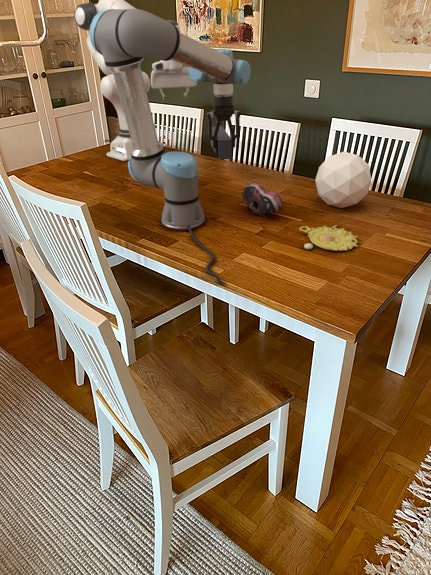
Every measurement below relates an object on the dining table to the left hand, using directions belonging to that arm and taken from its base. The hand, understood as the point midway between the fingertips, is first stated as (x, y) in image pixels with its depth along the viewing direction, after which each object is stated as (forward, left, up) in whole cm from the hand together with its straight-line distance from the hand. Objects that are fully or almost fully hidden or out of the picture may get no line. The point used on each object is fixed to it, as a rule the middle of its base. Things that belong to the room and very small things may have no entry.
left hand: (174, 98), depth 197 cm
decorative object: (+91, -41, -30) cm, 104 cm away
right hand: (+34, -13, -18) cm, 41 cm away
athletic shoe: (+60, -32, -30) cm, 74 cm away
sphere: (+84, -12, -30) cm, 90 cm away
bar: (+28, -7, -18) cm, 34 cm away
